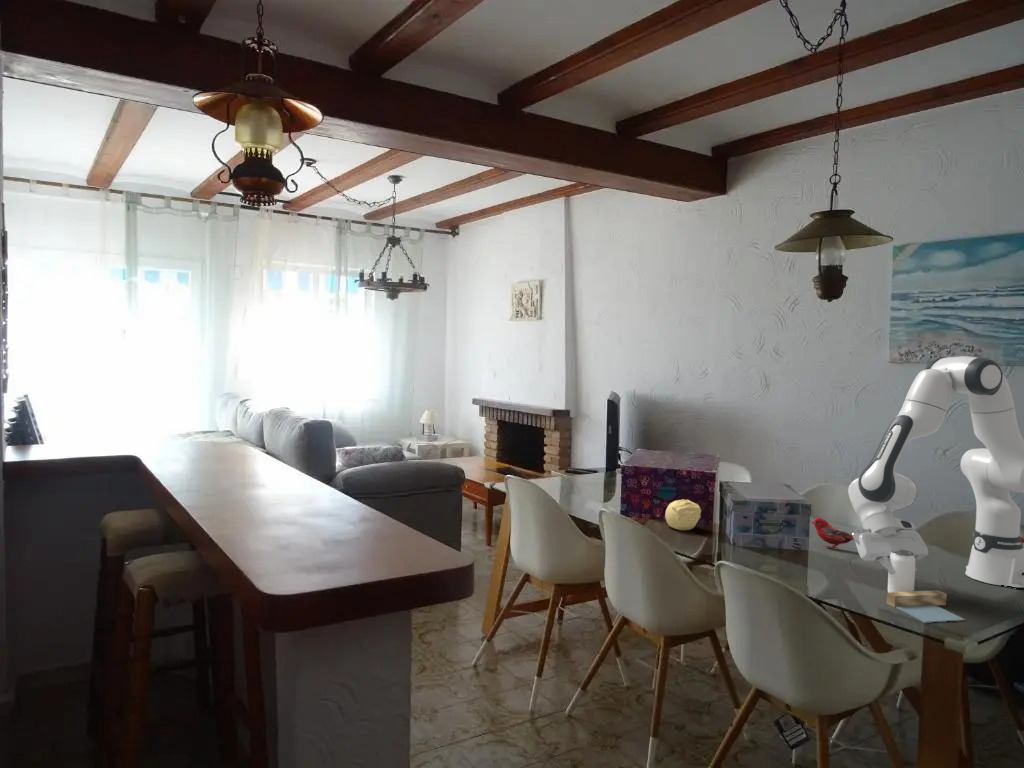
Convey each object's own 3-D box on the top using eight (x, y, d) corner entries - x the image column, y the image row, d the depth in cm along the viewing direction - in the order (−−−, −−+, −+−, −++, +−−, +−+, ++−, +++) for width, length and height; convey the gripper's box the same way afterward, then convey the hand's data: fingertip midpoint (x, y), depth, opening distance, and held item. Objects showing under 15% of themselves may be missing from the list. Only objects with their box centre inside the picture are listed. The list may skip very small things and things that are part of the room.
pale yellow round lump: (677, 533, 256) (679, 503, 255) (658, 525, 267) (660, 496, 267) (704, 531, 260) (706, 502, 260) (684, 523, 272) (686, 494, 271)
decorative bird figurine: (810, 544, 249) (812, 515, 248) (867, 553, 240) (869, 524, 239) (809, 545, 247) (811, 517, 246) (866, 555, 238) (868, 526, 237)
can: (882, 590, 204) (884, 548, 203) (904, 589, 205) (906, 548, 204) (896, 598, 198) (898, 556, 197) (918, 598, 198) (920, 555, 197)
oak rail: (937, 600, 197) (938, 590, 197) (945, 604, 194) (946, 594, 194) (886, 603, 194) (887, 592, 194) (894, 607, 191) (895, 596, 191)
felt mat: (934, 606, 193) (934, 604, 193) (965, 621, 183) (965, 619, 183) (895, 608, 191) (895, 606, 191) (924, 623, 181) (924, 621, 181)
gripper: (856, 524, 205) (877, 569, 196) (917, 522, 209) (941, 566, 200) (844, 535, 209) (865, 579, 200) (905, 533, 213) (928, 576, 205)
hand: (904, 573), depth 200 cm, fingers closed on can, 5 cm apart
